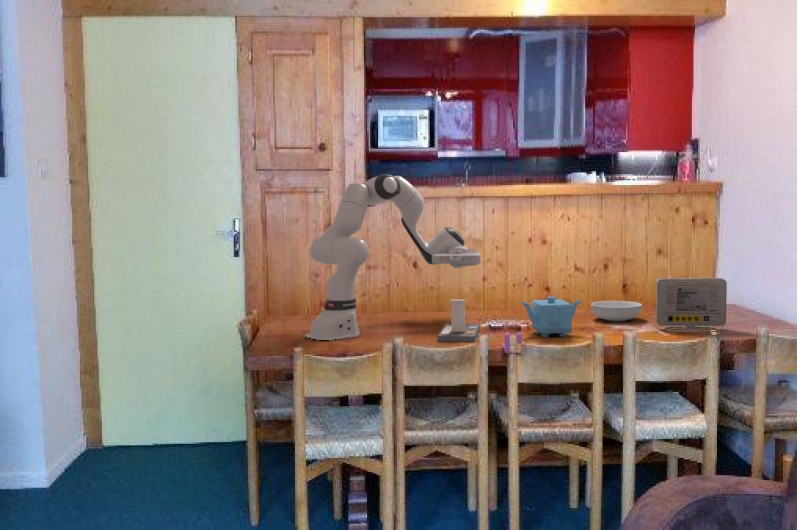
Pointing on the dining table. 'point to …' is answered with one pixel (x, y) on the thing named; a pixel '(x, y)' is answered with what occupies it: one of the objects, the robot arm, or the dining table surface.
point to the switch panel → (459, 333)
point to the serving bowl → (616, 310)
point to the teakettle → (551, 316)
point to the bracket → (506, 344)
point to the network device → (691, 303)
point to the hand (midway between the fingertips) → (454, 260)
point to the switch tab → (458, 315)
